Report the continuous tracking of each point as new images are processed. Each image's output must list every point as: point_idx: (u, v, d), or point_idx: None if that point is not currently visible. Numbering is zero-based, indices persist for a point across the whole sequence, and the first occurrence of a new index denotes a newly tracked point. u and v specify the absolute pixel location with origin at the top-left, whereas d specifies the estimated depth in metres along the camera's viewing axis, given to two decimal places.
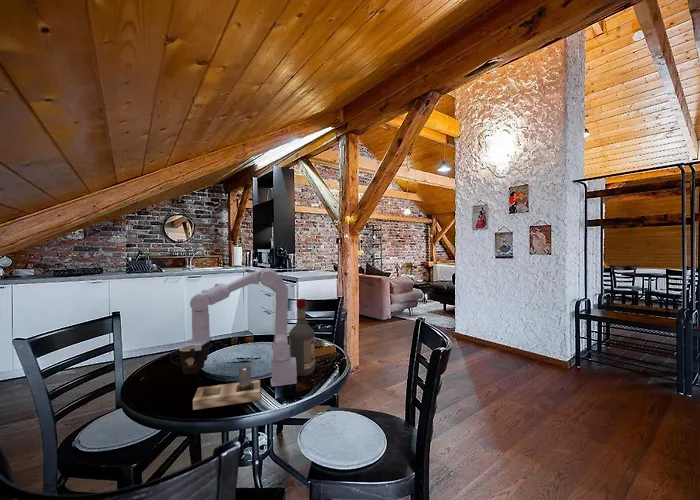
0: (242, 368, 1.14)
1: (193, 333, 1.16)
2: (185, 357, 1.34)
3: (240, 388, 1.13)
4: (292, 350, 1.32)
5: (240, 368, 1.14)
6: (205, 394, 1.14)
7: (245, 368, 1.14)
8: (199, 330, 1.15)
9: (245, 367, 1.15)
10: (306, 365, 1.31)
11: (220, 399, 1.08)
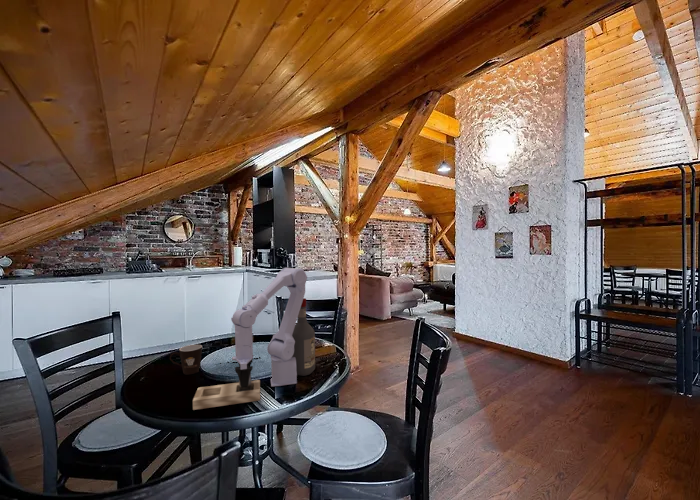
0: None
1: (236, 350, 1.12)
2: (185, 357, 1.34)
3: (240, 388, 1.13)
4: None
5: None
6: (205, 394, 1.14)
7: None
8: (243, 348, 1.12)
9: None
10: (306, 364, 1.31)
11: (220, 399, 1.08)
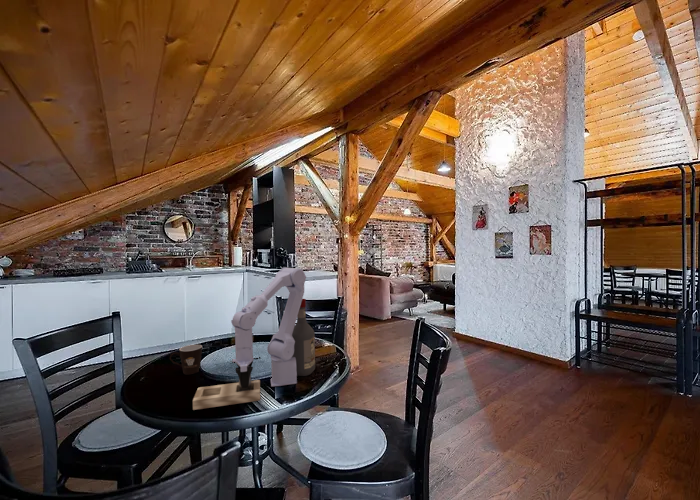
0: None
1: (236, 353, 1.12)
2: (185, 357, 1.34)
3: (240, 388, 1.13)
4: None
5: None
6: (205, 394, 1.14)
7: None
8: (244, 350, 1.12)
9: None
10: (306, 365, 1.31)
11: (220, 399, 1.08)
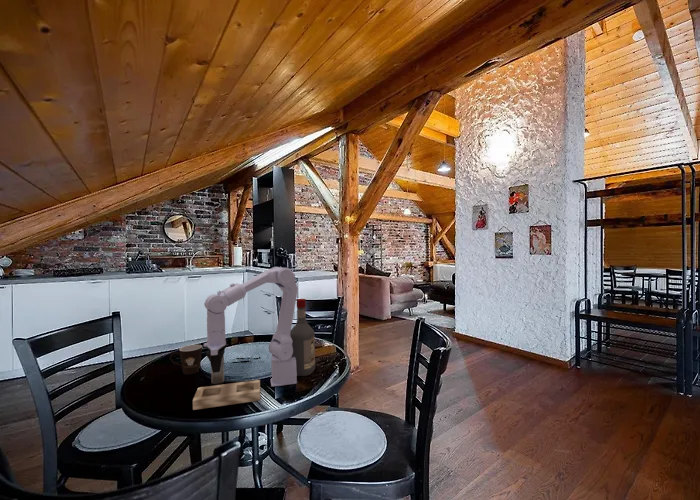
0: None
1: (208, 336, 1.10)
2: (185, 357, 1.34)
3: (212, 373, 1.11)
4: None
5: None
6: (205, 394, 1.14)
7: None
8: (215, 334, 1.09)
9: None
10: (306, 365, 1.31)
11: (220, 399, 1.08)
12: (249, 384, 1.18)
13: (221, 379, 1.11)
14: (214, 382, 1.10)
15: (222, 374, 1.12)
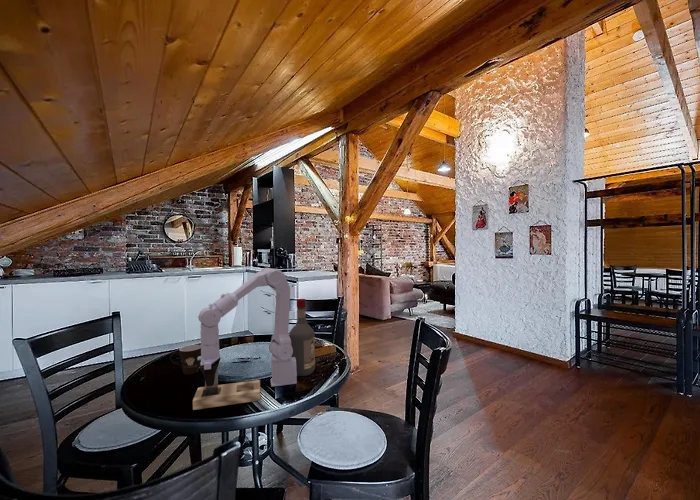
0: None
1: (202, 350, 1.09)
2: (185, 357, 1.34)
3: (206, 387, 1.10)
4: None
5: None
6: None
7: None
8: (209, 347, 1.09)
9: None
10: (306, 365, 1.31)
11: (220, 399, 1.08)
12: (249, 384, 1.18)
13: (215, 393, 1.11)
14: None
15: (216, 388, 1.11)
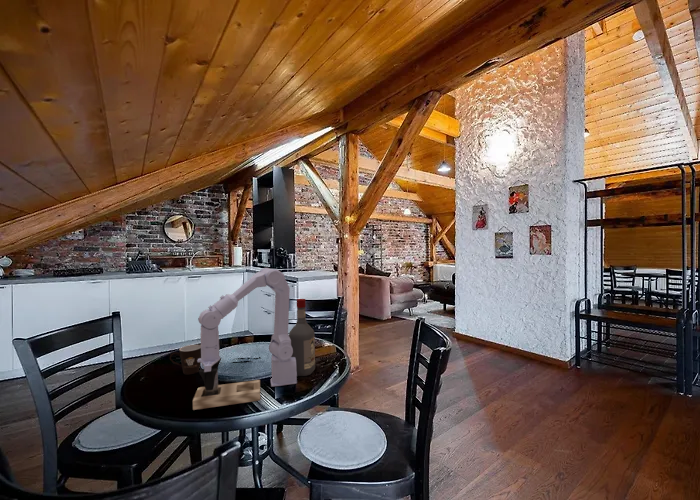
0: None
1: (202, 352, 1.09)
2: (185, 357, 1.34)
3: (206, 393, 1.10)
4: None
5: None
6: None
7: None
8: (209, 349, 1.09)
9: None
10: (306, 365, 1.31)
11: (220, 399, 1.08)
12: (249, 384, 1.18)
13: None
14: None
15: (216, 393, 1.11)
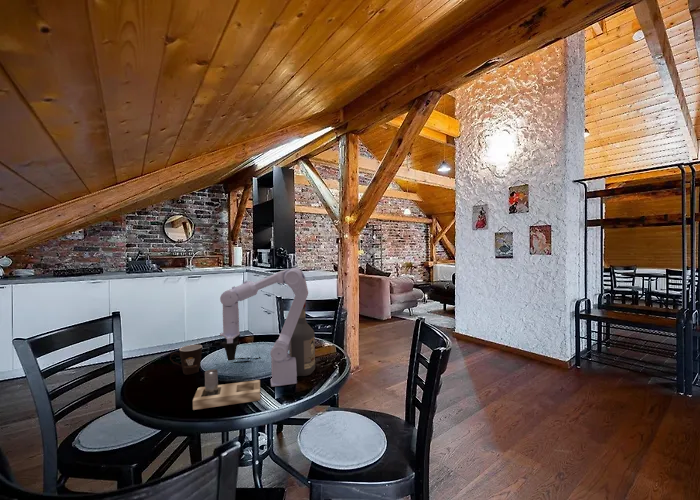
0: (208, 372, 1.11)
1: (224, 327, 1.22)
2: (185, 357, 1.34)
3: (206, 392, 1.10)
4: (292, 350, 1.32)
5: (206, 372, 1.11)
6: None
7: (212, 372, 1.11)
8: (230, 324, 1.22)
9: (211, 371, 1.12)
10: (306, 365, 1.31)
11: (220, 399, 1.08)
12: (249, 384, 1.18)
13: None
14: None
15: (216, 393, 1.11)
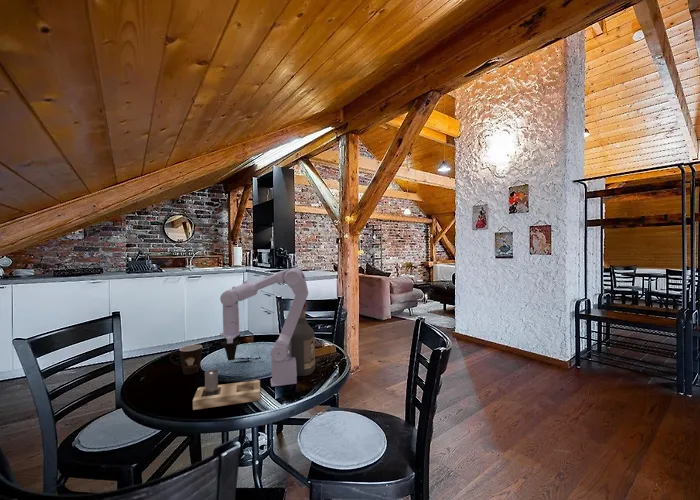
0: (208, 372, 1.11)
1: (224, 327, 1.22)
2: (185, 357, 1.34)
3: (206, 393, 1.10)
4: (292, 350, 1.32)
5: (206, 372, 1.11)
6: None
7: (212, 372, 1.11)
8: (230, 324, 1.22)
9: (212, 371, 1.12)
10: (306, 365, 1.31)
11: (220, 399, 1.08)
12: (249, 384, 1.18)
13: None
14: None
15: (216, 393, 1.11)
